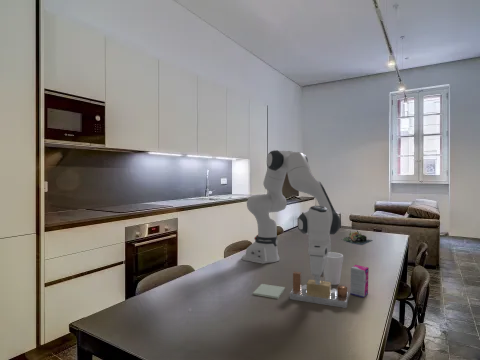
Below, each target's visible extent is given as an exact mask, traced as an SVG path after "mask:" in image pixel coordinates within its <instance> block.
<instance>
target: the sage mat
mask: <svg viewBox="0 0 480 360" xmlns="http://www.w3.org/2000/svg"><path fill="white" fill-rule="evenodd" d="M285 290H286V286H278V285H270V284H267V283H266V284H265V283H261V284H259V286H258V287H257V288H256V289H255V290H254V291H253V292H252V295H253V296H260V297H266V298H270V299H271V298H272V299H277V300H278V299H279V298H280V297H281V296H282V294H283V292H284V291H285Z"/></svg>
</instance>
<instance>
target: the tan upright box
mask: <svg viewBox="0 0 480 360" xmlns="http://www.w3.org/2000/svg"><path fill="white" fill-rule="evenodd" d="M306 285H307V293H309V294H316V295H323V296H329V297H330V294H331V290H332V285H331V282H326V281H325V280H321V283H320V285H318V284H316V283H315V279H309V278H308V281H307V282H306Z"/></svg>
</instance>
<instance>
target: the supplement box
mask: <svg viewBox="0 0 480 360" xmlns="http://www.w3.org/2000/svg"><path fill="white" fill-rule="evenodd" d="M369 269H370V268H369V266H368V267H367V266H365V265H364V266H363V265H358V264H354V265H353V266H352V267H350V287H349V288H350V291H349V295H352V296H355V297H358V298H365V297H366V296H367V295H368V294H369Z"/></svg>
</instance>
